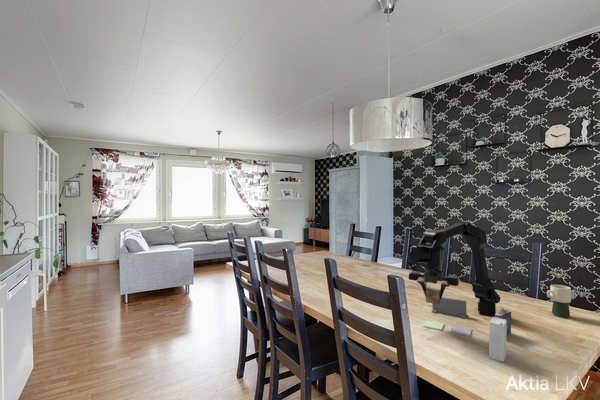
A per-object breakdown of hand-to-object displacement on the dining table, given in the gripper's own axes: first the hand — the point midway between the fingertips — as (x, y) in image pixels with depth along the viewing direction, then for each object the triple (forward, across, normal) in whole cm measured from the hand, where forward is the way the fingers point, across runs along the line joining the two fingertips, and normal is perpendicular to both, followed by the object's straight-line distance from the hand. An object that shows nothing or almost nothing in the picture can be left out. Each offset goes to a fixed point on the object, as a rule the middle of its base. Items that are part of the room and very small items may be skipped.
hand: (433, 298), depth 125 cm
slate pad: (+11, +10, 0) cm, 15 cm away
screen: (+11, +4, +18) cm, 21 cm away
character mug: (+11, +47, +41) cm, 63 cm away
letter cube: (+1, 0, 0) cm, 1 cm away
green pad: (+11, 0, 0) cm, 11 cm away
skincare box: (+11, +22, -16) cm, 30 cm away
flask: (+11, +24, +4) cm, 27 cm away
